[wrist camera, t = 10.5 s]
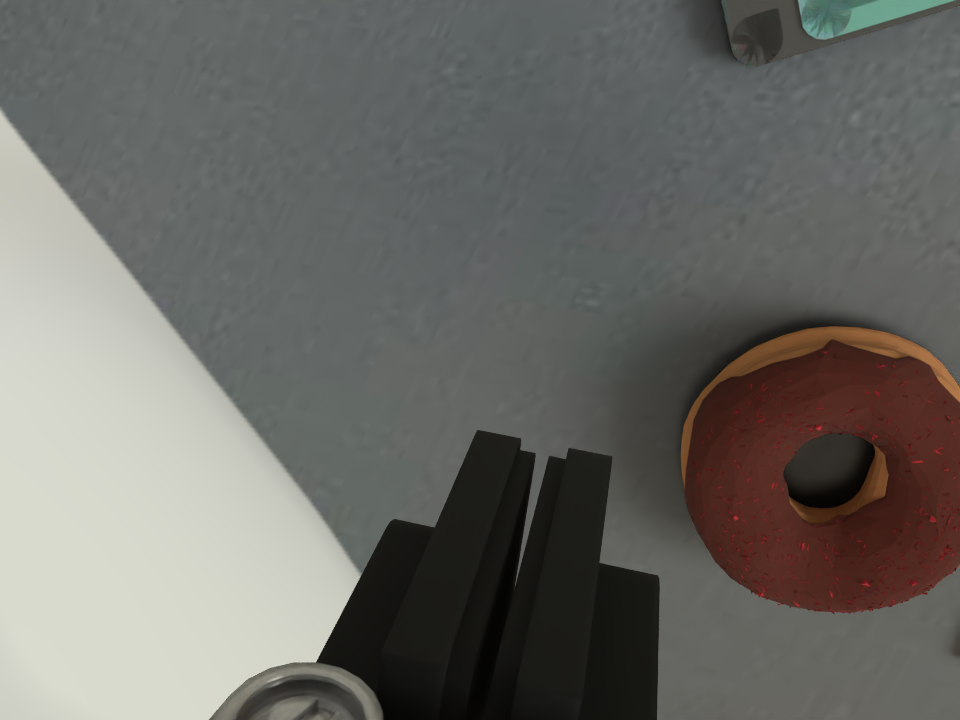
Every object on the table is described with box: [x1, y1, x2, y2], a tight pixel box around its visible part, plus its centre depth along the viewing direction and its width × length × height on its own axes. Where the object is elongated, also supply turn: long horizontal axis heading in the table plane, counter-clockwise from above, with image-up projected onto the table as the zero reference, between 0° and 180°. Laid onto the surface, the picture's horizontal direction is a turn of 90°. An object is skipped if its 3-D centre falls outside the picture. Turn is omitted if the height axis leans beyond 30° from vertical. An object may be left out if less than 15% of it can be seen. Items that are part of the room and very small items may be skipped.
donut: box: [681, 326, 960, 614], centre depth 30 cm, size 10×10×4 cm
